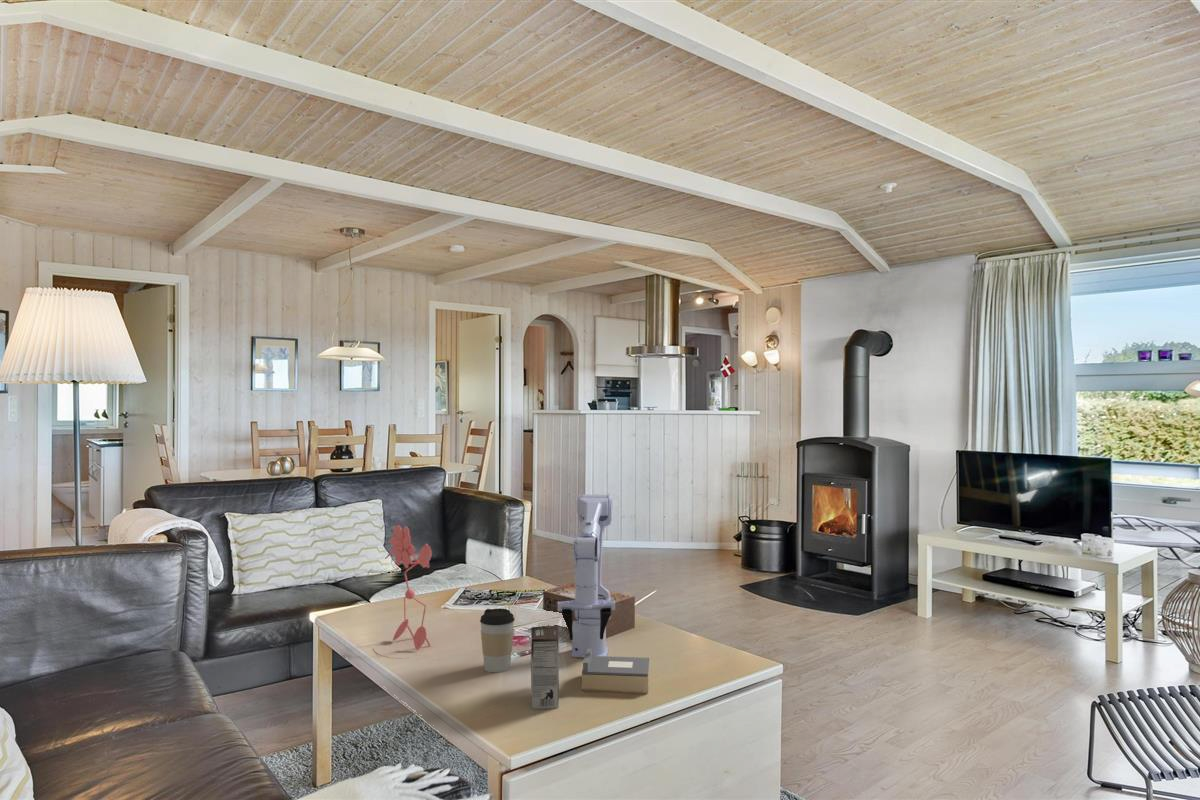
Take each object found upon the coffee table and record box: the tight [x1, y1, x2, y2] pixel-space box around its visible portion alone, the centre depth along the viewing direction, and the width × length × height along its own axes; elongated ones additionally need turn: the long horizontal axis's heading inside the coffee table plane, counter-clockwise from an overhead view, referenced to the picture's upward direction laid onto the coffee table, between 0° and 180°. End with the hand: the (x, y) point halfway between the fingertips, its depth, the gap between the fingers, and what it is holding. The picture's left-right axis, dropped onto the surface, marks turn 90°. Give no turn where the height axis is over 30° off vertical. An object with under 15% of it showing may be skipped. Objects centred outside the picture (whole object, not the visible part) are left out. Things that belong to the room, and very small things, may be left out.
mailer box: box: [581, 670, 650, 694], centre depth 182 cm, size 16×11×4 cm
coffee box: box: [530, 626, 560, 710], centre depth 171 cm, size 9×6×16 cm
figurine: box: [384, 524, 432, 651], centre depth 208 cm, size 15×26×35 cm, turn 43°
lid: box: [581, 649, 650, 676], centre depth 182 cm, size 16×11×2 cm
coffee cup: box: [479, 608, 516, 673], centre depth 193 cm, size 9×9×15 cm
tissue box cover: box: [542, 582, 636, 639], centre depth 230 cm, size 26×14×10 cm, turn 49°
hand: (586, 638), depth 186 cm, fingers open, 7 cm apart
